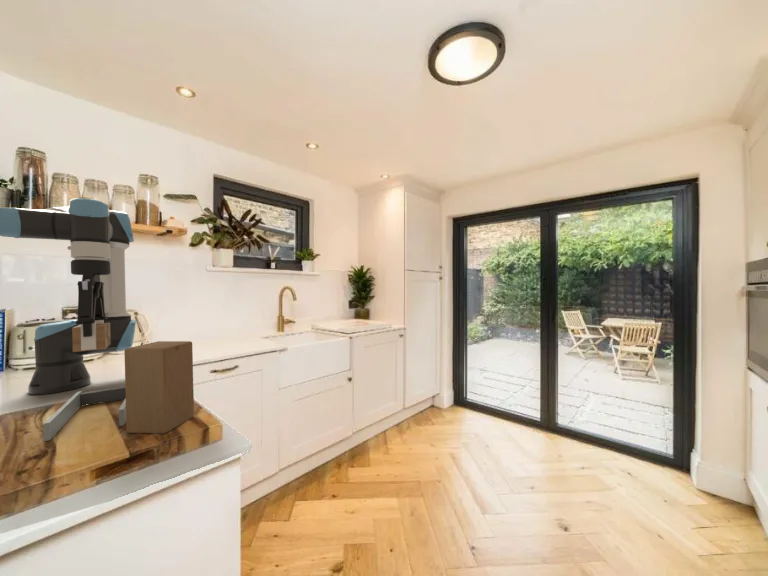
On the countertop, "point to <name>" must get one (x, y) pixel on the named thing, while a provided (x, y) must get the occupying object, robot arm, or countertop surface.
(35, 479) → the countertop surface
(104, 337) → the walnut block
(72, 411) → the grey u-shaped frame
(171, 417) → the wooden block
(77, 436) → the countertop surface
